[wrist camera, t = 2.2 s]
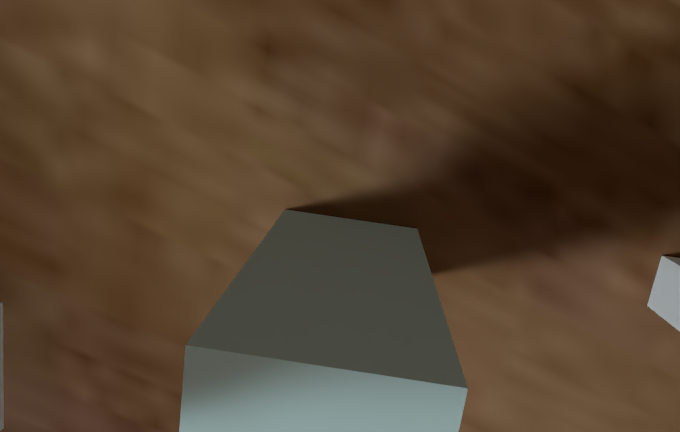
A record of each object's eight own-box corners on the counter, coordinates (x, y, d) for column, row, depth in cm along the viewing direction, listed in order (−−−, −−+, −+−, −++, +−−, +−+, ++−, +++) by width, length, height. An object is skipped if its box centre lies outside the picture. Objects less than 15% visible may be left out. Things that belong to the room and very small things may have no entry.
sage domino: (285, 209, 20) (185, 345, 9) (417, 228, 20) (467, 388, 9) (279, 259, 21) (178, 442, 10) (408, 278, 20) (447, 485, 10)
